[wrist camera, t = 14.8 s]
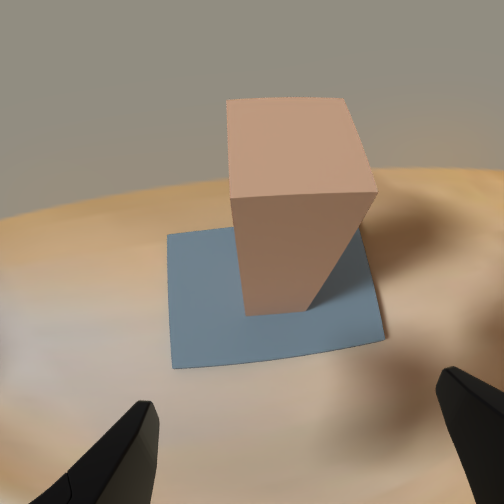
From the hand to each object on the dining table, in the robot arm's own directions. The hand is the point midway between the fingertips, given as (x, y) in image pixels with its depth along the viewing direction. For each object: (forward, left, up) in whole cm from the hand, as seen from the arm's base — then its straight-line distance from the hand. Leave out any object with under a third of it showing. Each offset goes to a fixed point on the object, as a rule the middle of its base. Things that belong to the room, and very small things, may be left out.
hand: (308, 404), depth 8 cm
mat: (+5, -4, -10) cm, 12 cm away
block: (+5, -4, -9) cm, 11 cm away
